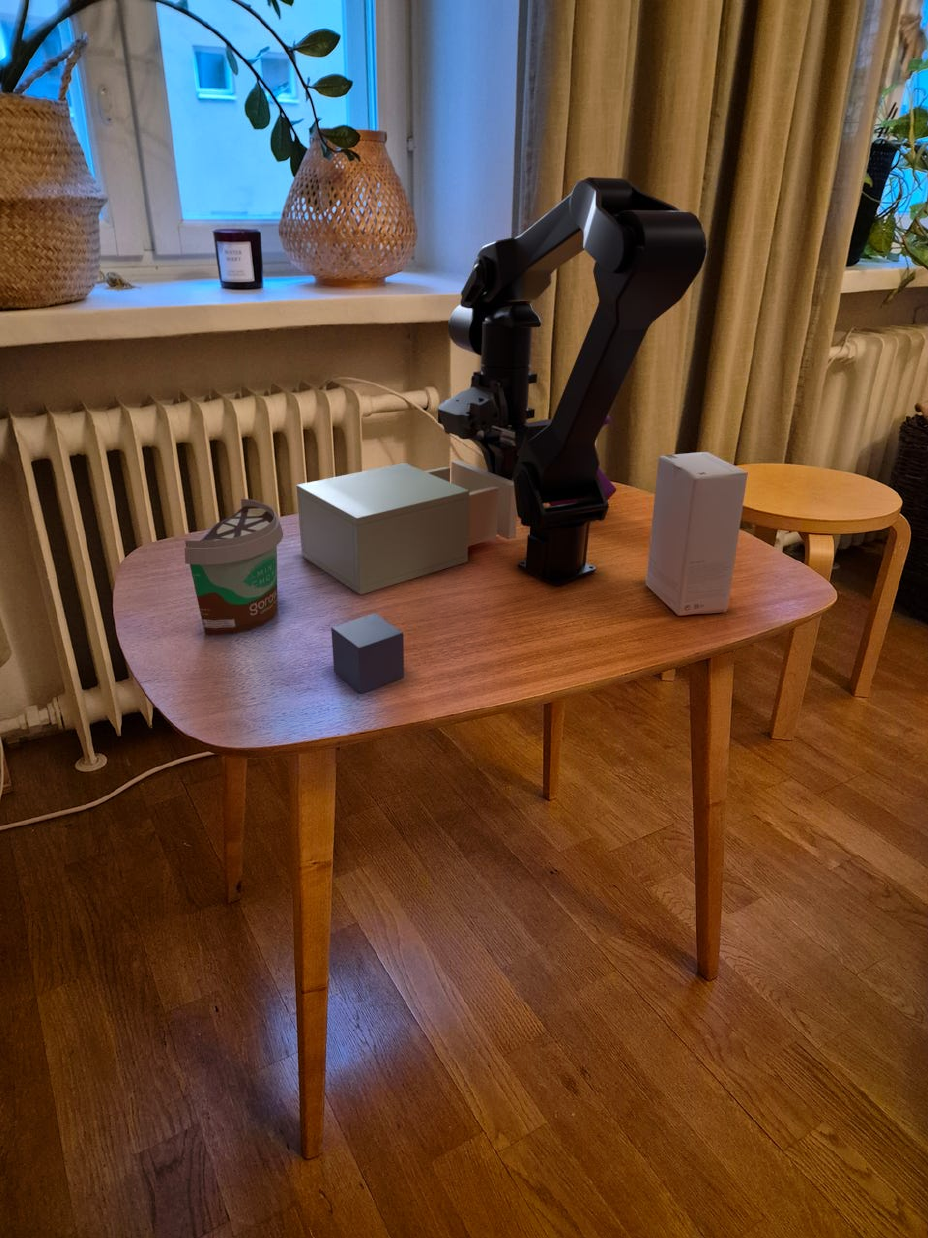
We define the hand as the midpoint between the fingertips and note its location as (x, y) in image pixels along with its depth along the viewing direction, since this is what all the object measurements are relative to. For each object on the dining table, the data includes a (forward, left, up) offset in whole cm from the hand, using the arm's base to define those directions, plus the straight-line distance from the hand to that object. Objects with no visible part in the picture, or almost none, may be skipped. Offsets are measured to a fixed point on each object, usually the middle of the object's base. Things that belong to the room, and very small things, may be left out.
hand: (499, 492), depth 100 cm
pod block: (+32, +20, -4) cm, 38 cm away
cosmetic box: (-3, +27, -5) cm, 28 cm away
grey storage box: (+17, 0, -4) cm, 18 cm away
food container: (+35, +4, -5) cm, 36 cm away
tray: (+7, 0, -4) cm, 8 cm away
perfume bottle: (-12, +2, -5) cm, 13 cm away
